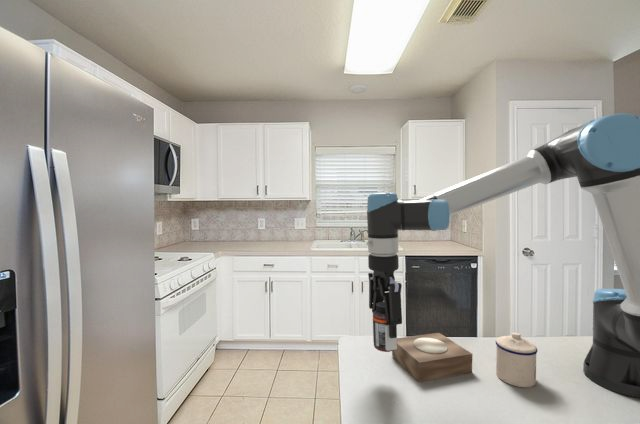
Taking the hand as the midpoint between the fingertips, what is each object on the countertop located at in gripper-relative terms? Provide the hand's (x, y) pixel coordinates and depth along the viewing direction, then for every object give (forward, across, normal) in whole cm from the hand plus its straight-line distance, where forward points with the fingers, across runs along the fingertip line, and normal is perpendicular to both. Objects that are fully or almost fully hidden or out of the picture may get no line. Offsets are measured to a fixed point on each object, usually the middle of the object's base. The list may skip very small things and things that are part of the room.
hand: (384, 343), depth 81 cm
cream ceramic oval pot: (+10, +8, +32) cm, 35 cm away
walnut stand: (+9, -3, +16) cm, 18 cm away
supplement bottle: (+1, 0, 0) cm, 1 cm away
